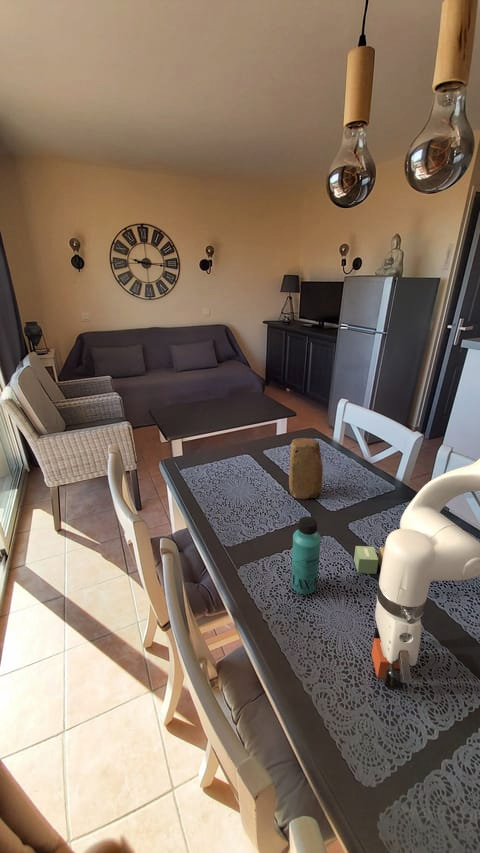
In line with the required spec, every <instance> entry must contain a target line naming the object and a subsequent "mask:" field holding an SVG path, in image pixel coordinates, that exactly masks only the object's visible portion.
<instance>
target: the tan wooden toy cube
mask: <svg viewBox="0 0 480 853" xmlns="http://www.w3.org/2000/svg"><path fill="white" fill-rule="evenodd" d="M378 548H379V549H378V555H377V557H378V567H379V569H380V570H381V567H382V561H383V555H384V549H385V546H379V547H378Z"/></svg>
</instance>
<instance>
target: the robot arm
mask: <svg viewBox="0 0 480 853" xmlns="http://www.w3.org/2000/svg"><path fill="white" fill-rule="evenodd" d="M472 492H480V457H479V458H478V459H477V460H476V461H474V462H472V463H471V464H468V465H465V466H461V467H458V468H454V469H452V470H449V471H447V472H444V473H442V474H440V475H438V476H436V477H434V478H432V479H431V480H430V481H428V482H427V483H426V484H424V485H423V486H422V488H420V490H419V491H418V492H417V493H416V495H414V497H413V498H412V500H410V502H409V504H408V505H407V506H406V508H405V510H404V511H403V513H402V515H401V518H400V521H399V528H396V529H394V530H393V531H391V532H390V533H389V534H388V535H387V537H386V539H385V543H384V547H385V549H384V555H383V561H382V567H381V569H380V573H379V578H378V586H377V592H376V605H375V610H374V611H375V612H374V618H375V619H374V620H375V628H374V634H373V640H372V643H373V642H374V638H379V639H381V642H382V645H383V649H384V652H385V655H386V658H387V660H388V661H389V669H388V670H387V671H386V676H385V678H384V680H383V684H384V687H385V688H391V689H392V690H399V689H403V688H404V685H405V684H412V676H411V668H410V666H411V667H412V666H416V665H417V663H418V659H419V658H418V657H419V652H420V648H421V647H420V646H421V637H422V619H421V617H422V616H423V614H424V612H425V606H426V602H427V598H428V596H429V590H430V586H431V583H432V582H456V581H458V582H459V581H466V580H472V579H475V578H477V577H479V576H480V541H479V540H478V539H476V538H474V537H473V536H472V535H470V534H469V533H468V532H466V531H465V530H463V529H462V528H461V527H460V526H458V525H457V524H456V523H454V522H453V521H452V520H451V519H449V518H448V517H446V516H445V515H444V514H442V513H441V511H442V510H443V509H444V508H445V506H446V505H447V504H448V503H449V502H450V501H452V500H453V499H455V498H457V497H458V496H460V495H464V494H466V493H472ZM394 663H399V664H400V669H397V668H394Z"/></svg>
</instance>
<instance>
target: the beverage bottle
mask: <svg viewBox="0 0 480 853" xmlns="http://www.w3.org/2000/svg"><path fill="white" fill-rule="evenodd" d="M321 542H322V536H321V535H320V533H319V532H318V522H317V520H316V519H315V518H314V517H312V516H309V515H308V516H302V517H301V518H299V520H298V525H297V529H296V530H295V531H294V533H293V535H292V551H291V554H292V555H291V566H290V576H289V577H290V579H289V580H290V584H291V588H292V589H293V590H294V591H295V592H296V593H298V594H301V595H310V594H312V593H314V592H315V591H316V589H317V588H318V584H319V583H318V580H319V575H320V574H319V568H320V557H321V552H320V551H321Z"/></svg>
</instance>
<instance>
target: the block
mask: <svg viewBox="0 0 480 853" xmlns="http://www.w3.org/2000/svg"><path fill="white" fill-rule="evenodd" d="M289 454H290V455H289V468H288V485H289V486H288V487H289V494H290V495H291V496H292V497H293V498H294V499H297V500H298V499H299V500H308V499H315V498H317V497H319V496H320V495H321V493H322V487H323V477H324V476H323V475H324V465H323V460H322V454H321V446H320V442H319V441H317V440H316V439H314V438H306V437H300V438H294V439H293V440H291V444H290V453H289Z"/></svg>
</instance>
